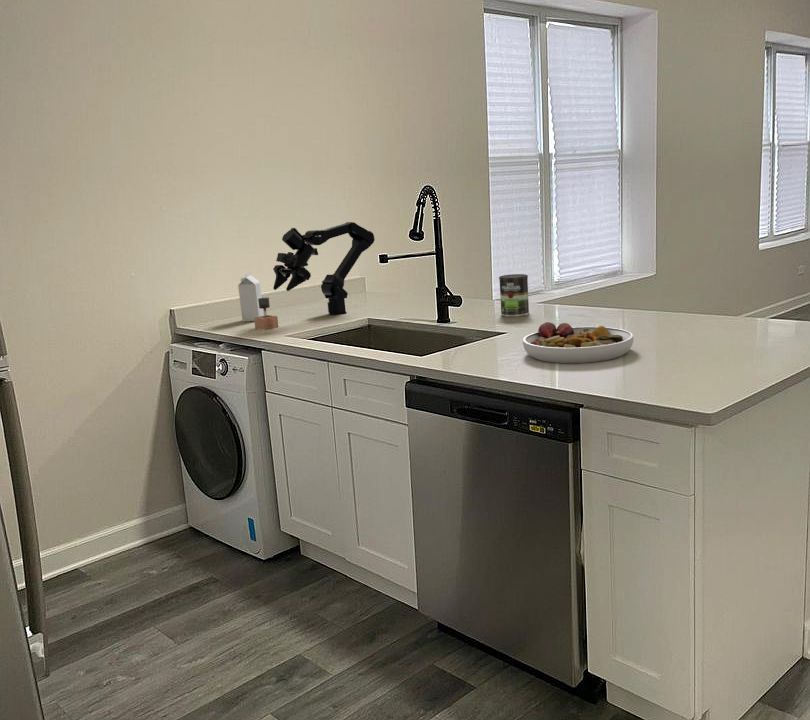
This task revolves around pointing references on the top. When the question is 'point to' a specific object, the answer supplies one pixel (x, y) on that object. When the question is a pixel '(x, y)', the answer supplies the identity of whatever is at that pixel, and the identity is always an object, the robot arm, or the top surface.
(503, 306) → the coffee can
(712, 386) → the top surface
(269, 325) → the reddish brown block
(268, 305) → the plunger
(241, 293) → the milk carton
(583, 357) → the bowl
